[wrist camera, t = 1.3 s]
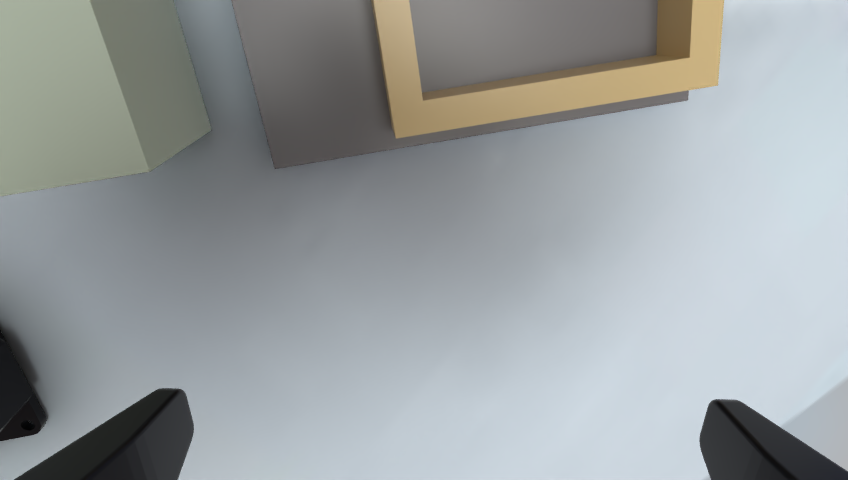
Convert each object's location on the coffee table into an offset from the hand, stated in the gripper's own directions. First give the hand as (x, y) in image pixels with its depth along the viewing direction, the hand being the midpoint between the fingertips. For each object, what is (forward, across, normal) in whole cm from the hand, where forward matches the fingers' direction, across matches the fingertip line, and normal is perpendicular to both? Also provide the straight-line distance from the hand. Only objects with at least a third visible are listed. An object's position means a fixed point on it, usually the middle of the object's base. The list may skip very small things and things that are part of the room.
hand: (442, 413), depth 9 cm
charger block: (+11, +10, -4) cm, 16 cm away
